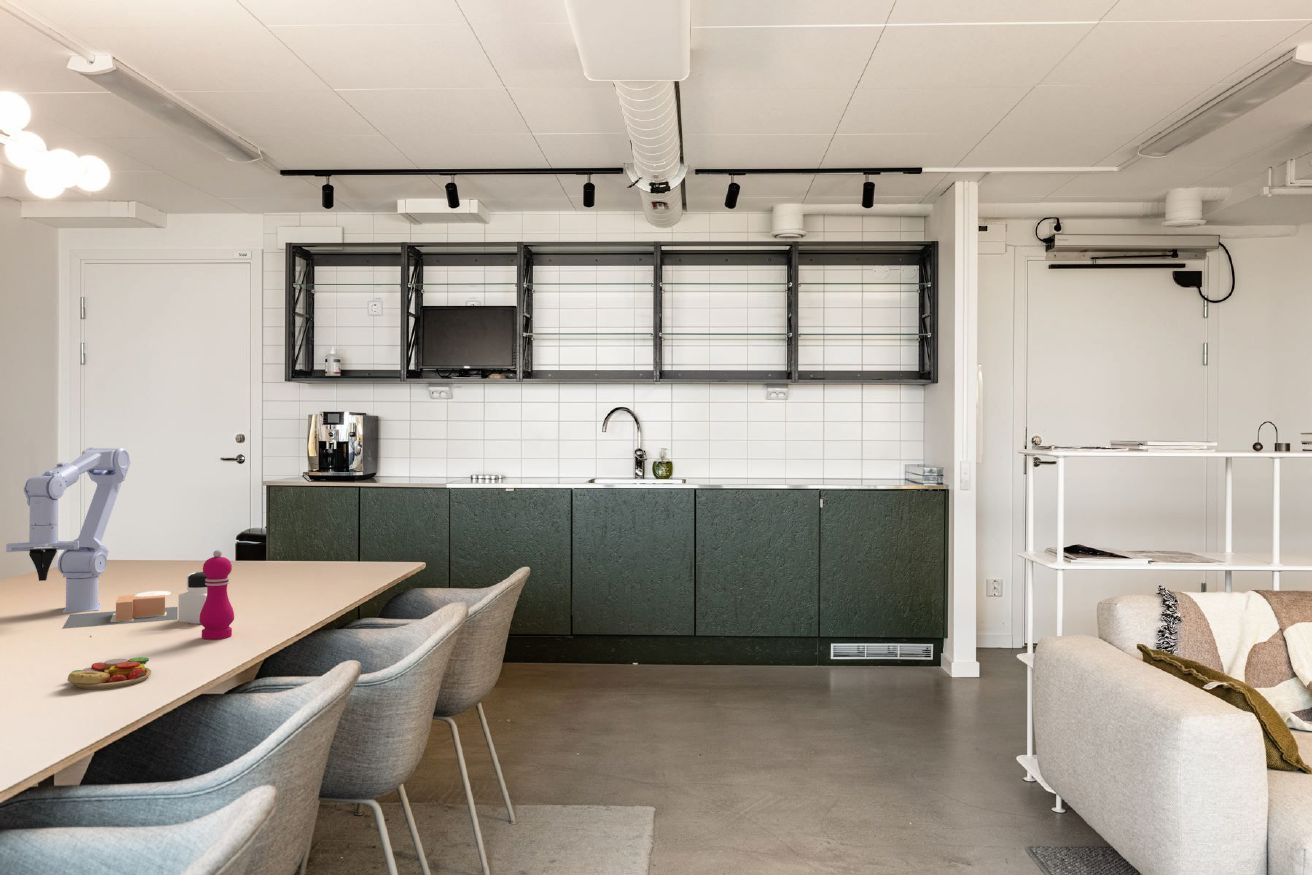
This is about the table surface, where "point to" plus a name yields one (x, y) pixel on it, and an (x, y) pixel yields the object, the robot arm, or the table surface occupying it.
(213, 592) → the pepper mill
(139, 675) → the toy food set
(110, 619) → the mat
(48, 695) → the table surface
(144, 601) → the t block
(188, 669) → the table surface
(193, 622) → the medicine bottle
